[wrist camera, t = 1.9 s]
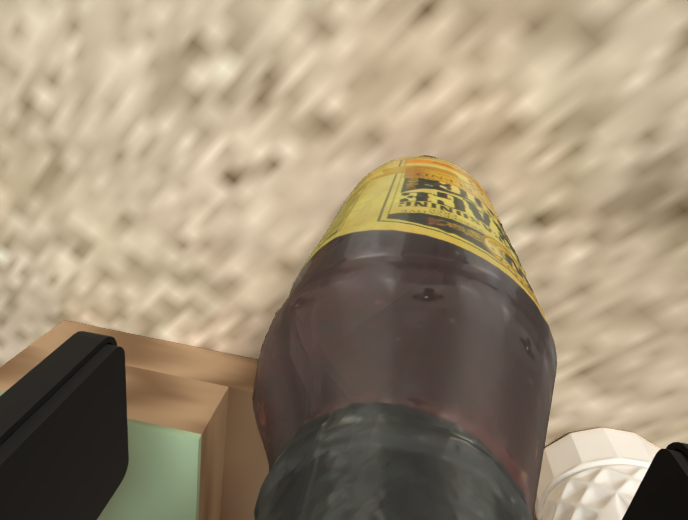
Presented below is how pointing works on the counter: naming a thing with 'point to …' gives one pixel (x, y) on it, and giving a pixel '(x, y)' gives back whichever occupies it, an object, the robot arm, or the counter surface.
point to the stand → (176, 428)
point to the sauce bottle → (407, 362)
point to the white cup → (592, 475)
